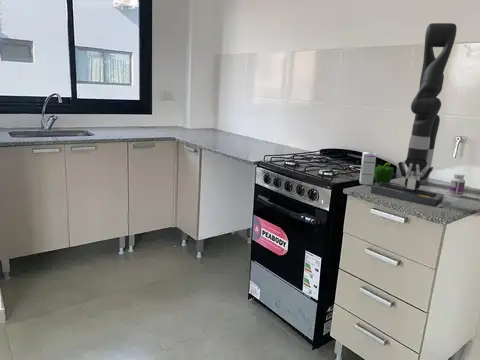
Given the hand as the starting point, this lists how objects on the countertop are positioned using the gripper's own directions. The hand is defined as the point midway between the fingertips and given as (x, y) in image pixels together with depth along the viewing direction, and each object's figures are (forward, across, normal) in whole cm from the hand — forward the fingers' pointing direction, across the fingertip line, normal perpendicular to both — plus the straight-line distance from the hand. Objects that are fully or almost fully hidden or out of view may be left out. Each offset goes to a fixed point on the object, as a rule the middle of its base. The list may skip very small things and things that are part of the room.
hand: (411, 187), depth 163 cm
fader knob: (+1, 0, 0) cm, 1 cm away
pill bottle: (+5, -13, -21) cm, 25 cm away
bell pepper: (+5, +18, -17) cm, 25 cm away
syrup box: (+5, +23, -9) cm, 25 cm away
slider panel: (+4, +2, 0) cm, 5 cm away
